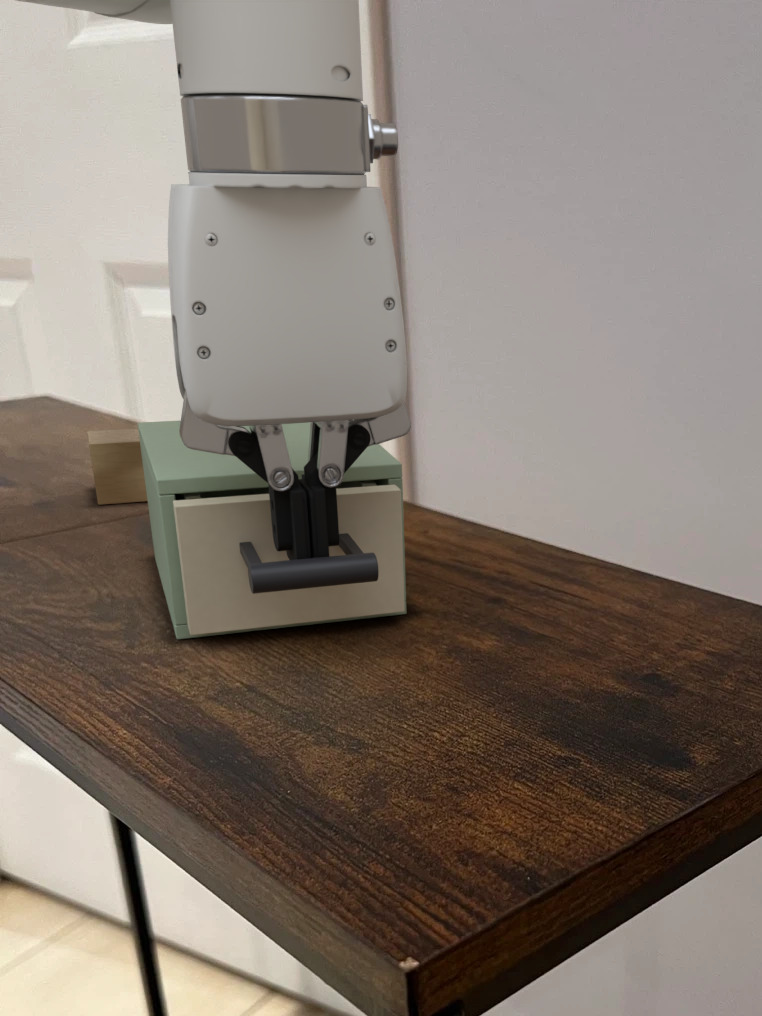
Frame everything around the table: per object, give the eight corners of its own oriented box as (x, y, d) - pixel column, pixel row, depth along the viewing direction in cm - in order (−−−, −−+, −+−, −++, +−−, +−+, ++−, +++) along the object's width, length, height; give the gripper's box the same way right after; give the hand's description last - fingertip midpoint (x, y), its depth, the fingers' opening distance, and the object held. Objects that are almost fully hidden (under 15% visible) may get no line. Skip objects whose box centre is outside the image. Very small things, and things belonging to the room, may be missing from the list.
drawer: (434, 649, 58) (431, 518, 55) (202, 678, 54) (186, 539, 51) (350, 542, 74) (344, 436, 71) (167, 558, 70) (153, 447, 67)
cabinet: (406, 614, 65) (402, 463, 61) (176, 640, 61) (156, 479, 57) (350, 541, 77) (343, 411, 74) (155, 558, 73) (137, 422, 69)
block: (98, 505, 84) (88, 443, 82) (95, 490, 88) (87, 430, 86) (162, 500, 86) (154, 439, 84) (157, 485, 89) (149, 427, 87)
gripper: (421, 154, 55) (431, 528, 63) (88, 146, 50) (144, 555, 58) (470, 153, 48) (474, 570, 56) (94, 145, 43) (157, 603, 51)
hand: (307, 561), depth 57 cm, fingers closed
